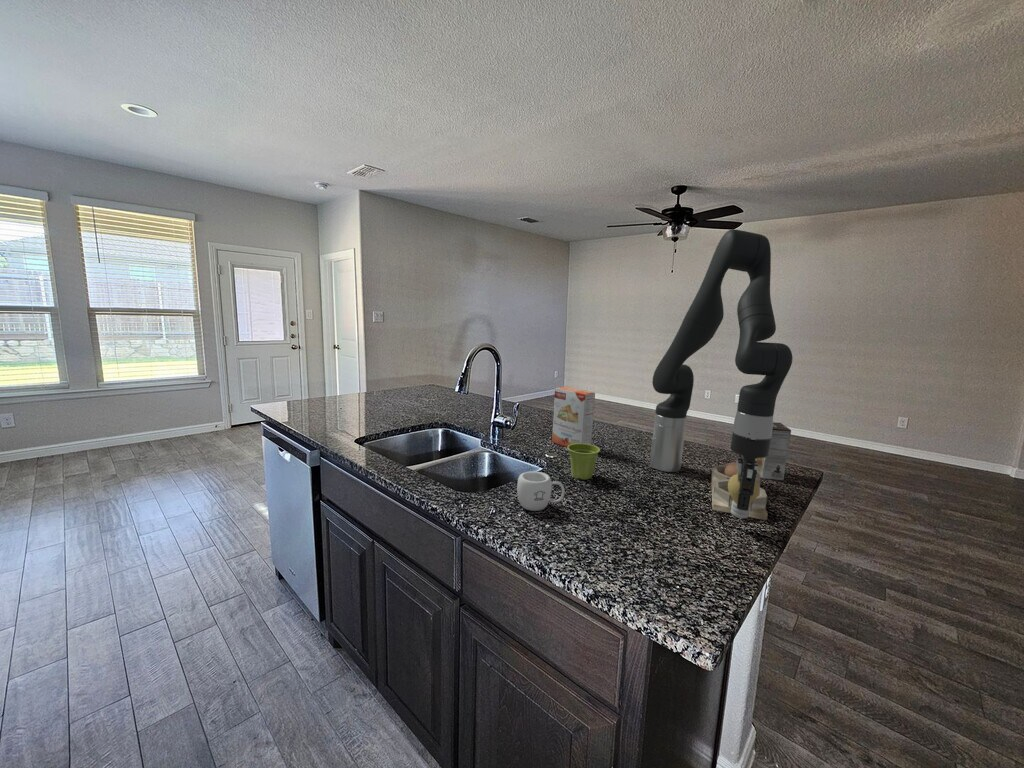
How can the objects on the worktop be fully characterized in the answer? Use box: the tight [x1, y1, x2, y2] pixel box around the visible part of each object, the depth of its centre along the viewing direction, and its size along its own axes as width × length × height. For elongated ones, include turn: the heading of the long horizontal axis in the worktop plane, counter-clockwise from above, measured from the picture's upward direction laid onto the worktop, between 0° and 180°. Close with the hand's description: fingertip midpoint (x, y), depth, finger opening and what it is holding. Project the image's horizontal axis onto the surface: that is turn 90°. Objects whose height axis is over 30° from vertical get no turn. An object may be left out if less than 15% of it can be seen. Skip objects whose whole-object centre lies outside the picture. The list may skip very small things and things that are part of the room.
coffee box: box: [755, 421, 792, 481], centre depth 136 cm, size 9×6×16 cm
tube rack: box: [710, 464, 769, 521], centre depth 120 cm, size 12×26×4 cm, turn 157°
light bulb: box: [728, 474, 761, 519], centre depth 99 cm, size 6×6×10 cm
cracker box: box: [551, 386, 596, 448], centre depth 157 cm, size 14×6×21 cm, turn 43°
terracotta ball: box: [725, 461, 737, 477], centre depth 125 cm, size 6×6×6 cm
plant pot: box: [566, 443, 601, 481], centre depth 129 cm, size 9×9×9 cm
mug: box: [516, 470, 565, 512], centre depth 108 cm, size 12×8×8 cm
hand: (741, 502), depth 99 cm, fingers closed on light bulb, 6 cm apart
